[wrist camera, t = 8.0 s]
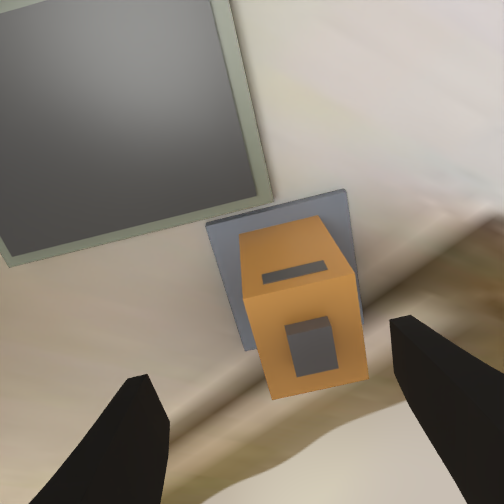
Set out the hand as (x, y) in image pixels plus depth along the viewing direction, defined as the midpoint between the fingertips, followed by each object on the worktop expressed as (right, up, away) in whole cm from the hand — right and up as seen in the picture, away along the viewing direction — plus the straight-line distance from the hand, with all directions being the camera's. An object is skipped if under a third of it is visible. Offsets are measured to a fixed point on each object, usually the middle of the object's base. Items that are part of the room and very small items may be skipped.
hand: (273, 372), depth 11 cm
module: (+1, +3, +9) cm, 9 cm away
